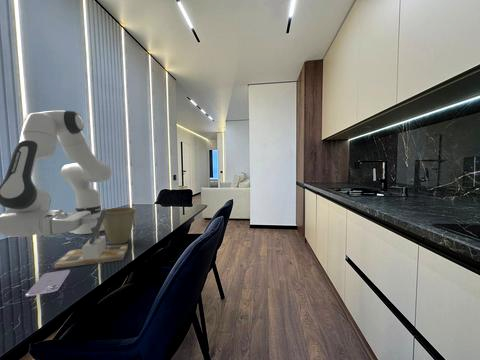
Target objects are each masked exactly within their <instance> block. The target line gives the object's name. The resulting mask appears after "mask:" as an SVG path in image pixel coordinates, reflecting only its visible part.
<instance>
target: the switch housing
mask: <svg viewBox="0 0 480 360" xmlns="http://www.w3.org/2000/svg"><path fill="white" fill-rule="evenodd" d="M89 241H90V239H89V240H87V242H85V244H84V245H83V246H82V247H81V249H82V256H83V260H88V259H97V258H99V256H100V255H101V254H102V252H103V251H104V249H105V248H106V246H107V235H100V236H99V237H98V238H97V239H96V240H95V241H94V242H93V244H89Z"/></svg>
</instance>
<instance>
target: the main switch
mask: <svg viewBox="0 0 480 360" xmlns="http://www.w3.org/2000/svg"><path fill="white" fill-rule="evenodd" d="M107 209H108V208H105V207H104V208H103V209H101V210H102V212H101V215H100V217H99V220H98V222H97V225H96V227H95V229H94V232H93V233H91V234H92V235H91V238H90V239H89V240H90V241H89V240H88V241H89V244H93V242H94V241H95V240H96V237H97V234H98V232H99V229H100V227H101V224H102V222H103V219H104V217H105V214H106V212H107ZM99 233H100V232H99Z"/></svg>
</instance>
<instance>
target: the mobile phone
mask: <svg viewBox="0 0 480 360" xmlns="http://www.w3.org/2000/svg"><path fill="white" fill-rule="evenodd" d="M70 272H71V270H70V269H65V270H58V271H57V270H56V271H50V272H47V273H43V274H42V275H41V276H40V278H38V280H37V281H36V282H35V283H34V284H33V285H32V287H30V288H29V290H28V291H27V292H26V293H25V297H28V298H29V297H33V296H38V295H43V294H50V293H54V292H56V291H58V290H59V289H60V287H62V284H63V283H64V282H65V280H66V278H67V277H68V275H69V274H70Z"/></svg>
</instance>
